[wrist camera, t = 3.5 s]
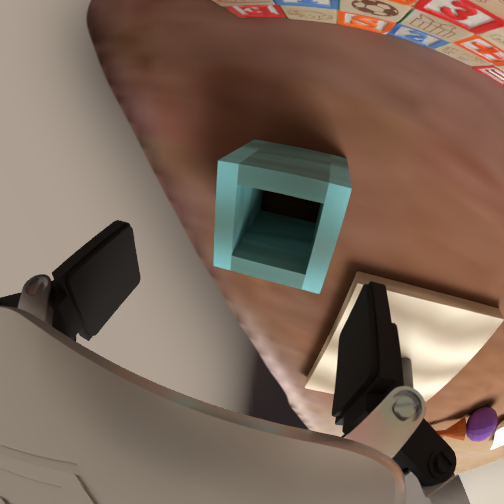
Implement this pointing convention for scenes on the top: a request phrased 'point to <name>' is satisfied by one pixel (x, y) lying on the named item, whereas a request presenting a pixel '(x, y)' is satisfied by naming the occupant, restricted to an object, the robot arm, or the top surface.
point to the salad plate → (498, 436)
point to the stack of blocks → (406, 23)
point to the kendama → (473, 426)
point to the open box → (275, 225)
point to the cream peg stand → (416, 334)
